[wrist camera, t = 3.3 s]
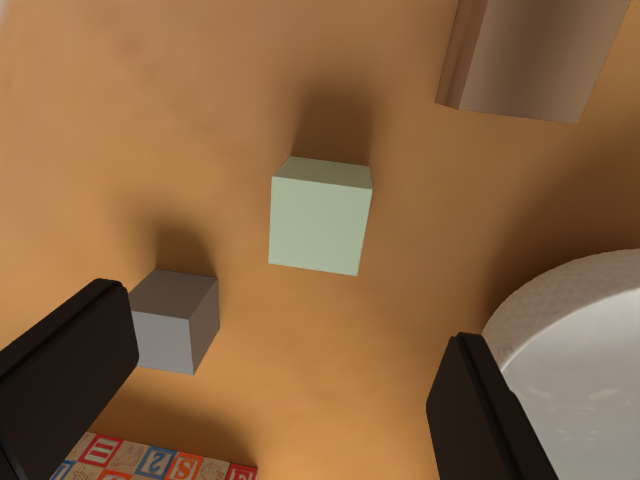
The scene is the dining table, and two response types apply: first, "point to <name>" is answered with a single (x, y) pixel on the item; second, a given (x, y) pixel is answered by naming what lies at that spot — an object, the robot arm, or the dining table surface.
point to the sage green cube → (319, 214)
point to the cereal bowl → (577, 363)
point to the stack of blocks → (142, 463)
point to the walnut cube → (528, 56)
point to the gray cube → (174, 319)
